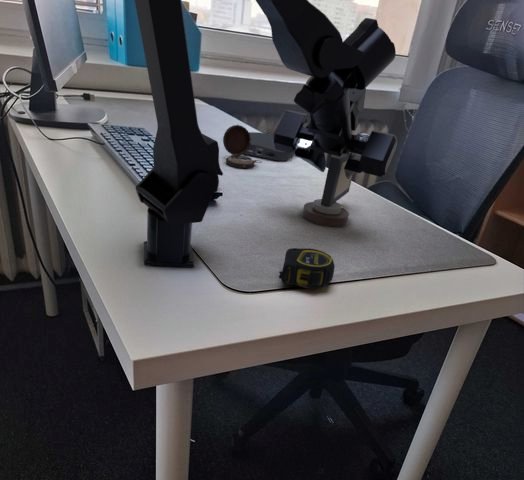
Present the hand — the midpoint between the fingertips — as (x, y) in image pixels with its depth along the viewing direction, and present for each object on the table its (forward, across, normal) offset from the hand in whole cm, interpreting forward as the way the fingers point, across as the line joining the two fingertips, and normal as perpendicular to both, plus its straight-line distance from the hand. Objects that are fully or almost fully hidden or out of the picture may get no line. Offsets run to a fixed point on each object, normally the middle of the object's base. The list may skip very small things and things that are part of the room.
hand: (336, 173), depth 87 cm
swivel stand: (+4, 0, +6) cm, 8 cm away
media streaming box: (+28, +28, -17) cm, 43 cm away
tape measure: (-14, -6, +25) cm, 30 cm away
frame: (+6, 0, +3) cm, 6 cm away
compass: (+18, +26, -6) cm, 32 cm away
